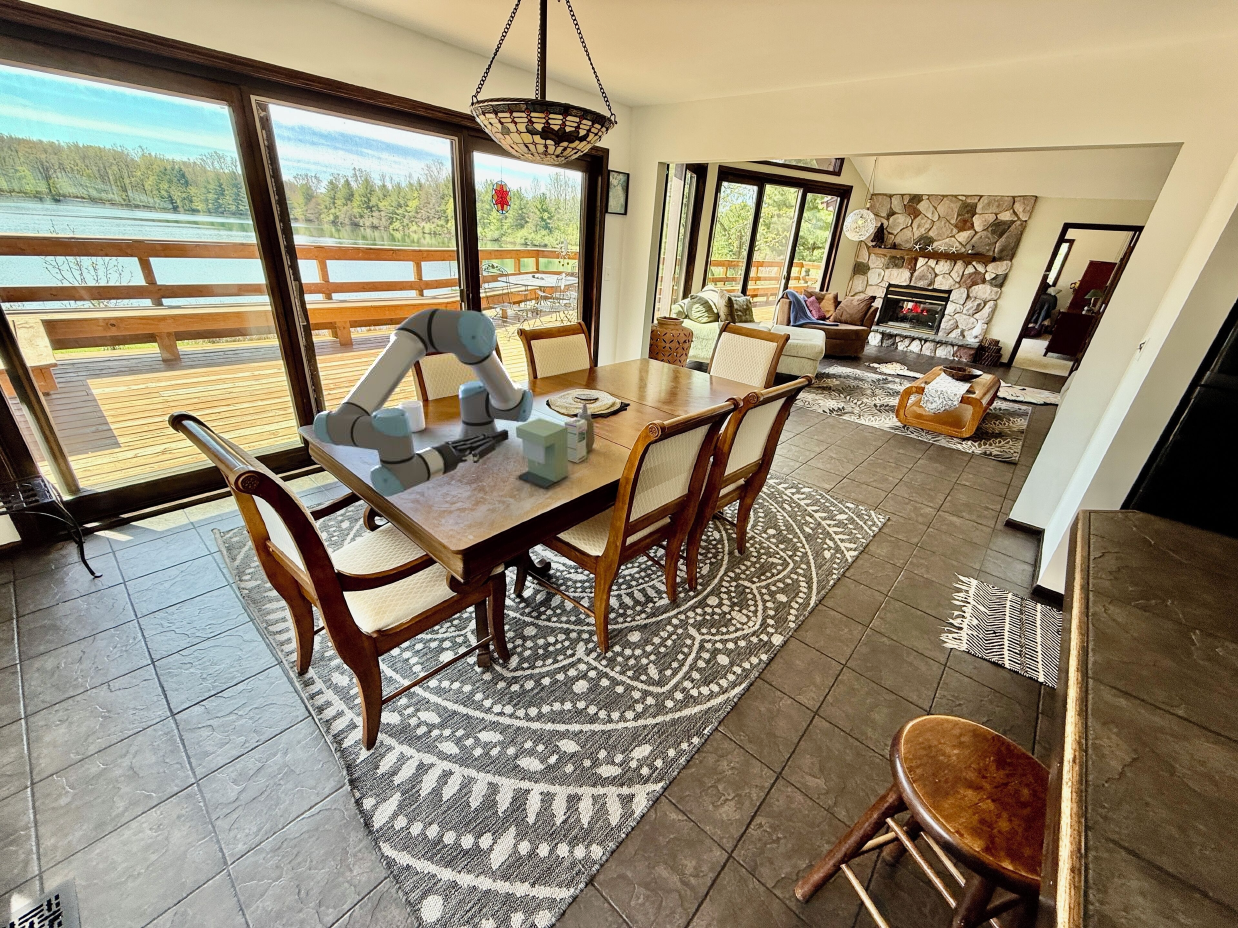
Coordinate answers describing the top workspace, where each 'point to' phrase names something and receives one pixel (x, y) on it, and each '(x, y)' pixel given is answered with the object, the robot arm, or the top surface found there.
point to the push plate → (533, 451)
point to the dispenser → (546, 452)
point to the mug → (414, 414)
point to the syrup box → (577, 439)
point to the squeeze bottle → (588, 426)
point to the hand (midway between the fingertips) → (506, 434)
